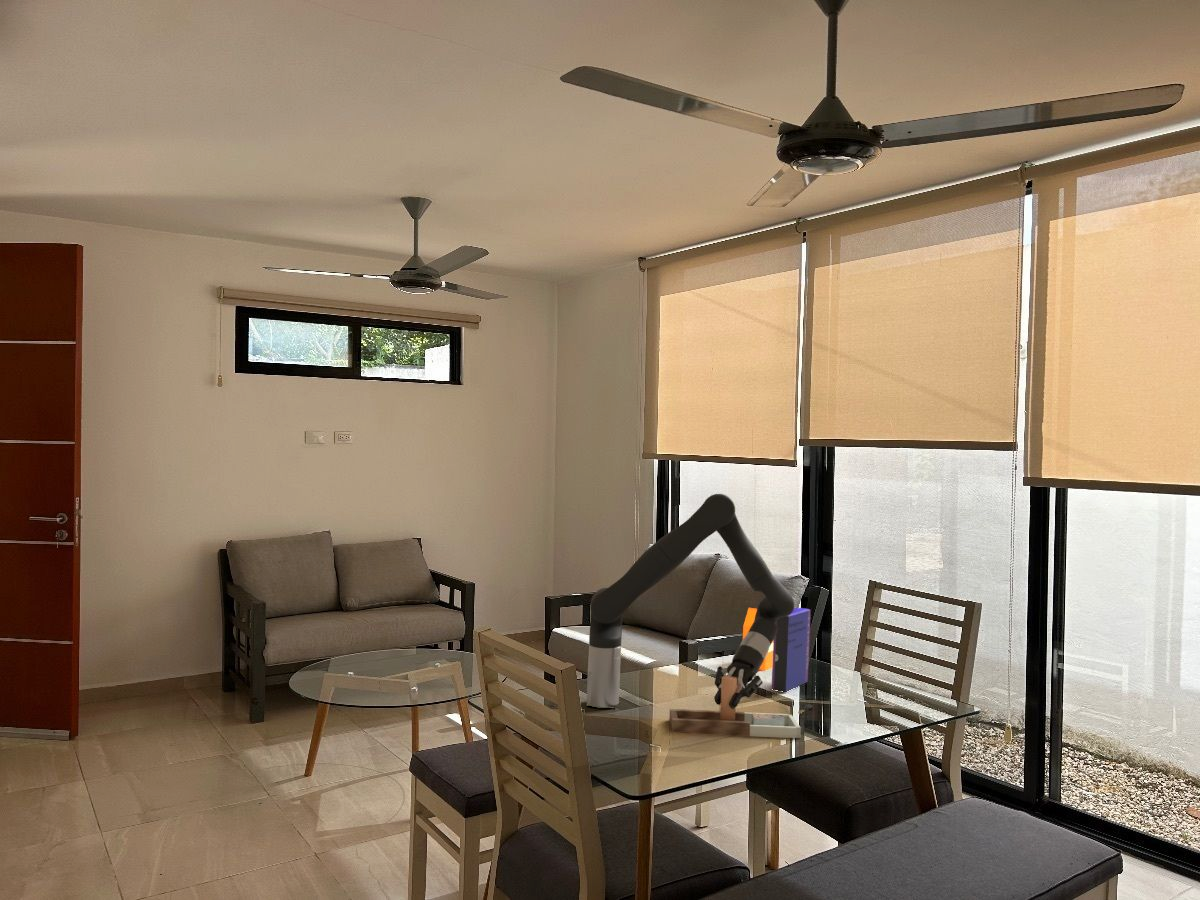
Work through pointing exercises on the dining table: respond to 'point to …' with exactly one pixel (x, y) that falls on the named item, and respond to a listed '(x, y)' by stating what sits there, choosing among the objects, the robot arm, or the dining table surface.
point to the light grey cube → (760, 719)
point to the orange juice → (747, 625)
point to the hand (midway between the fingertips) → (724, 704)
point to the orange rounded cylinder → (727, 698)
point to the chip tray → (775, 727)
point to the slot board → (707, 723)
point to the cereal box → (791, 650)
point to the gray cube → (776, 720)
